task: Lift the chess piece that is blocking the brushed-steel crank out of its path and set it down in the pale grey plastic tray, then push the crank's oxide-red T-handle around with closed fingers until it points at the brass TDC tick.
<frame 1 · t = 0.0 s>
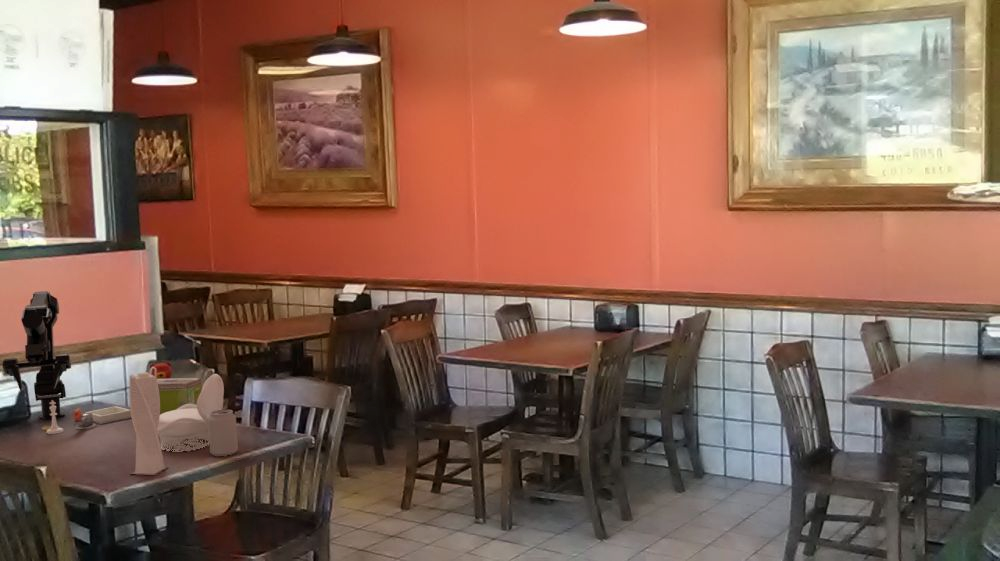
hand: (37, 389, 315), 15 cm above the table, tool tilted 35°, fingers open, 9 cm apart
crank: (81, 417, 324), point 4 cm above the table, hinge at -40.0°
tdc tick: (48, 429, 327), on the table
skyscraper: (150, 473, 273), on the table
crank base: (86, 426, 329), on the table
can: (224, 454, 289), on the table
tray: (108, 418, 339), on the table
tea box: (175, 427, 324), on the table
chess piece: (55, 432, 324), on the table
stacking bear: (164, 417, 339), on the table
chair: (192, 445, 300), on the table
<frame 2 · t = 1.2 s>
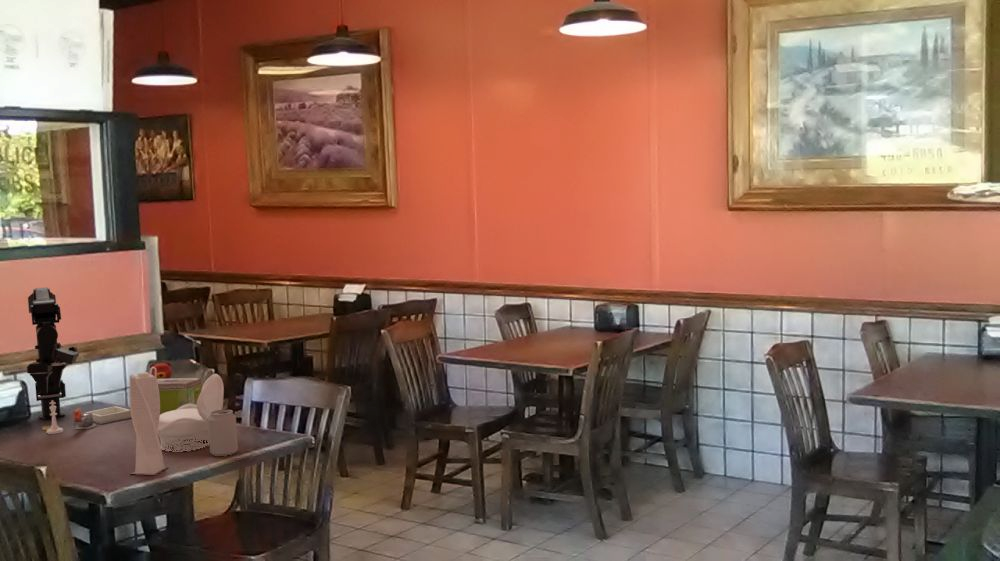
hand: (51, 390, 322), 13 cm above the table, tool pointing down, fingers open, 9 cm apart
nothing on the table moved.
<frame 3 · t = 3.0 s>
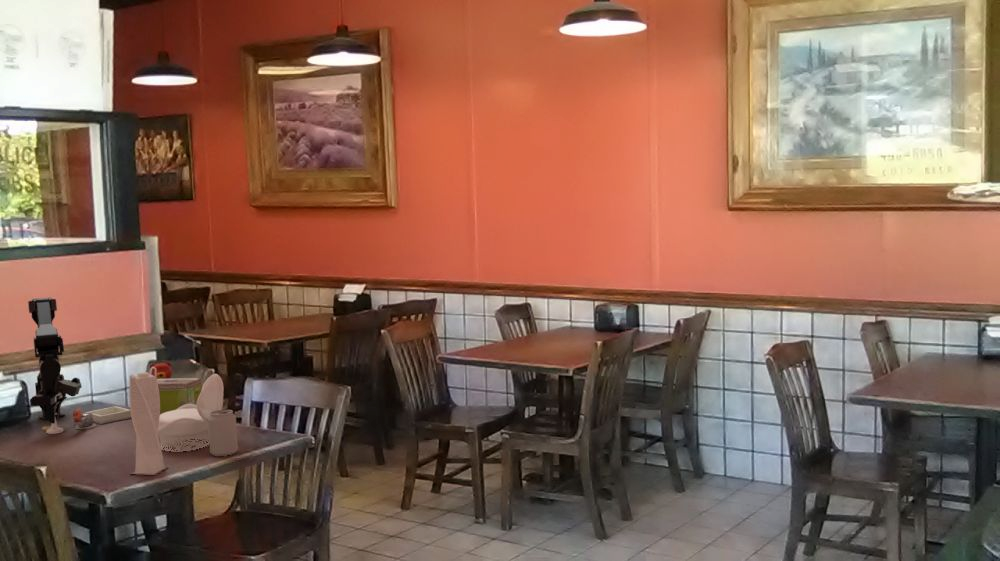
hand: (54, 422, 323), 3 cm above the table, tool pointing down, fingers closed on chess piece
chess piece: (55, 432, 324), on the table, touching gripper
everything else where it was.
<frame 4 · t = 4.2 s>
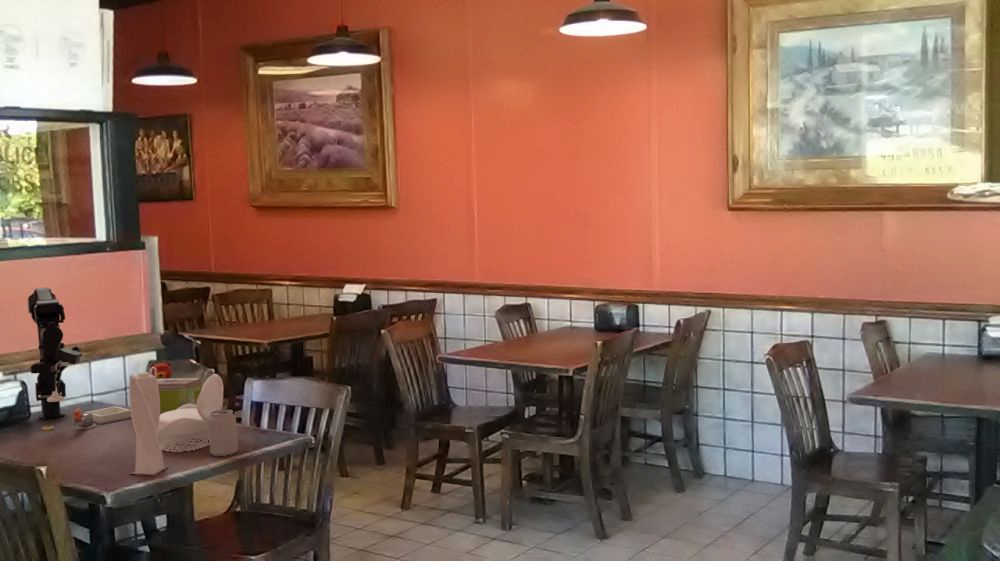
hand: (54, 390, 323), 13 cm above the table, tool pointing down, fingers closed on chess piece
chess piece: (55, 400, 324), point 10 cm above the table, touching gripper
everything else where it was.
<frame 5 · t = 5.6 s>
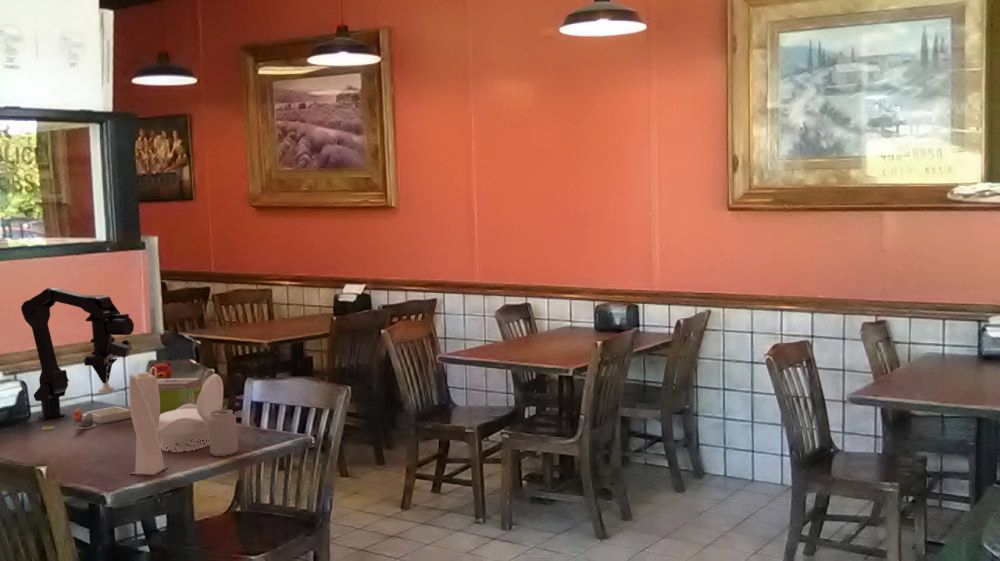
hand: (105, 382, 338), 12 cm above the table, tool pointing down, fingers closed on chess piece
chess piece: (106, 392, 338), point 9 cm above the table, touching gripper
everything else where it was.
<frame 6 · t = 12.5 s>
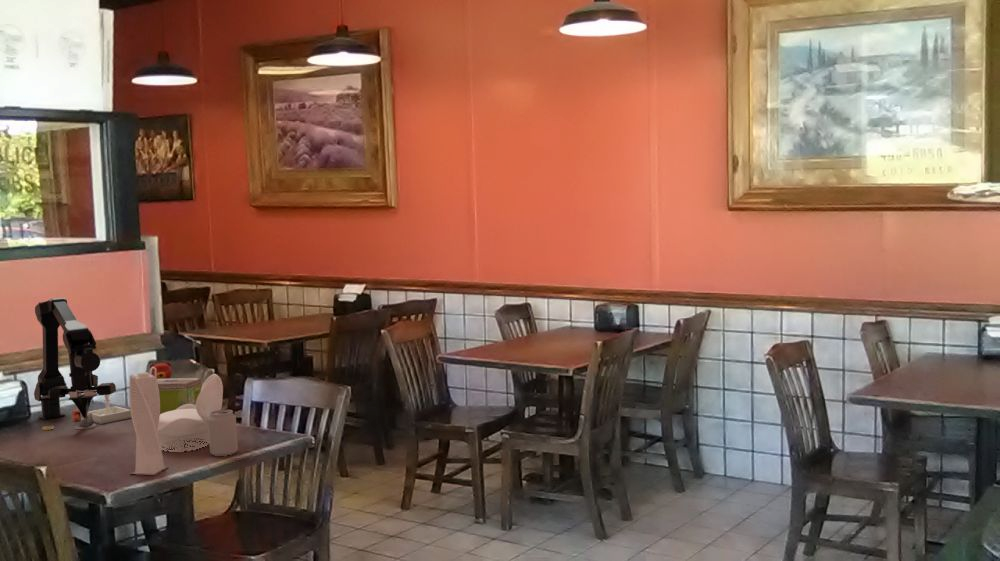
hand: (85, 418, 321), 4 cm above the table, tool pointing down, fingers closed
crank: (81, 417, 324), point 4 cm above the table, hinge at -42.1°, touching gripper
chess piece: (108, 417, 339), resting on tray
everything else where it was.
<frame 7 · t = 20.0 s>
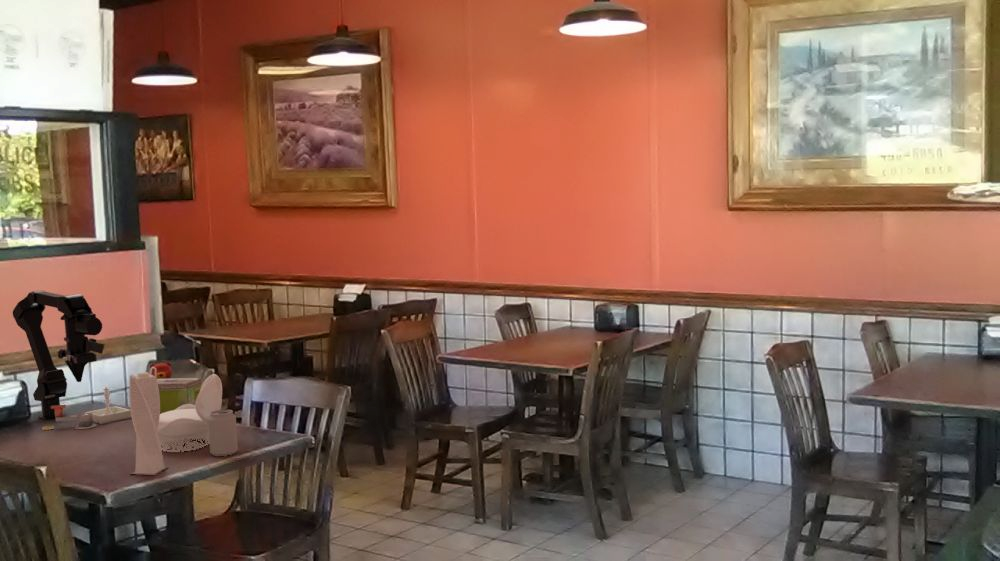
hand: (79, 381, 336), 13 cm above the table, tool pointing down, fingers closed
crank: (72, 415, 328), point 4 cm above the table, hinge at -134.5°
everything else where it was.
at the end: chess piece inside the target area on the tray (0.1 cm from its centre), point 0.3 cm above the tray's base; crank at -134° (first picture: -40°); chair moved 0.5 cm from its start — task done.
